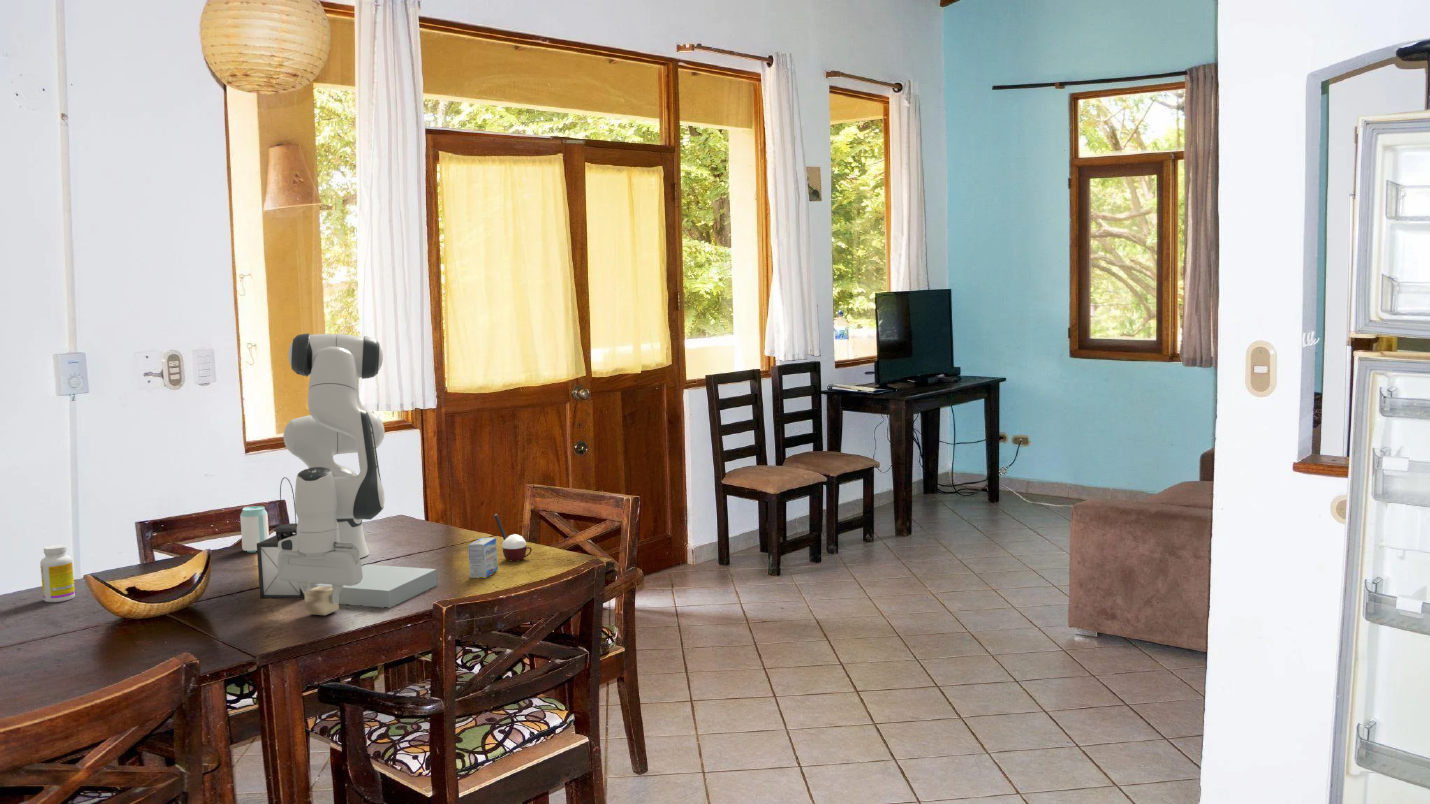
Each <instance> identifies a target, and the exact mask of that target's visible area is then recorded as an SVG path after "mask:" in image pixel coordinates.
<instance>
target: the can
mask: <svg viewBox="0 0 1430 804" xmlns="http://www.w3.org/2000/svg"><path fill="white" fill-rule="evenodd" d="M239 517H240V530H241V532H240V534H241V547H242V550H243V552H244V551H245V552H246V551H247V552H246V553H257V552H256V551H257V543H260V542H262V541H264V540H266V539H269V538H270V534H269V533H270V531H269V519H268V517H269V516H268V512H267V510H266V509H265V506H263V505H262V506H261V505H260V506H259V505H255V506H253V505H252V506H247V507H243V508H242V511H241V513H240V515H239Z"/></svg>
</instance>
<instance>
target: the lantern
mask: <svg viewBox="0 0 1430 804" xmlns="http://www.w3.org/2000/svg"><path fill="white" fill-rule="evenodd" d="M284 479H286V480H287V482H289V485H290V488H291V493H292V497H293V498H292V499H293V507H294V519H295V520H294V521H295V522H294V523H293V522H291V523H283V510H282V509H283V508H282V483H283V481H284ZM279 501H280V504H279V505H280V517H281V519H280V520H281V524H280V525H278V526H276V527H275V528H274V529H273V532H275V533H276V534H275V535H273V536H271V537H269V539H266V540H264V541H262V542H260V543H257V552H256V554H257V555H256V556H257V569H258V583H259V584H258V585H259V599H280V598H305V596H304V593H303V592H302V590H301V588H300V587H299V582H294V581H282V580H281V579H280V577H279V575H278V554H279V552H280V551H281V550H279V548H278V542H279V541H281V540H283V539H285V538H288V537H291V536H293V535H295V534H297V524H298V522H297V514H296V511H295V492H294V489H293V486H292V483H291V481H290V480H289V478H288V477H283V478H282V479H281V481H280V487H279ZM317 584H319V583H310V585H309V587H310V589H313V588H315V585H317Z"/></svg>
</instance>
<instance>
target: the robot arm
mask: <svg viewBox="0 0 1430 804" xmlns="http://www.w3.org/2000/svg"><path fill="white" fill-rule="evenodd" d="M380 345H381V344H380V342H379V341H378V340H377V338H373V337H370V336H367V335H366V336H358V335H353V334H343V333H337V334H336V333H316V334H315V333H314V334H311V333H309V332H307V333H302V334H301V333H300V334H297V335H296V336H295V337H293V338H292V341H291V343H290V345H289V349H288V354H287V358H288V362H289V364H290V367H291V370H292V371H293V372H294V373H295V374H297V375H300V376H304V377H305V378H306V377H309V381H308V391H307V394H308V395H307V409H308V412H309V414H310V415H304V416H300V417H296V418H293V419H290V421H288V423H287V424H286V425H285V427H284V430H283V443H284V445H285V448H286V450H288V451H289V453H290V454H292V455H293V456H295V457H296V458H297V459H299V460H300V461H302V462H303V463H304V464H305V466H307V468H305V469H303V470H301V471H299V472H298V473H297V475H296V481H295V487H294V488H295V489H294V490H295V491H294V500H295V509H294V512H295V511H296V518H297V534H296V533H294V534H295V535H293V536H291V537H288V538H285V539H283V540H281V541H279V542H278V548H279V550H281V551H280V552H279V554H278V575H279V577H280V579H281V580H282V581H294V582H299V587H300V588H301V590H302V592H303V593H304V596H305V591H308V590H310V587H309V585H310V583H320V584H332V589H334V591H333V594H332V595H330V596H329V603H332V604H336V603H338V602H339V594H340V592H341V590H342V588H343V585H346V586H353V585H356V584H358V583H360V582H361V580H362V579H363V573H362V566H363V565H362V562H361V558H365V557H367V556H369V555H370V551H369V549H368V546H367V542H366V538H365V533H364V528H363V520H373V519H374V518H375V517H376V516H378V515H379V514H380V513H381V512H382V511H383V510H384V506H385V501H386V497H385V496H386V495H385V489H384V486H383V484H382V479H381V473H380V467H379V466H380V465H379V460H378V453H377V449H378V448H379V446H380V445H381V444H382V443H383V440H384V438H385V433H386V432H385V425H384V423H383V420H382V419H381V418H380V417H379V416H378V415H377V414H376V413H374V412H371V411H370V410H369V409H367V408H366V407H365V405H363V404H362V402H361V399H360V391H359V390H360V389H359V384H360V383H359V382H360V381H359V380H360V379H362V380H363V379H371V378H374V377H376V376H377V375H378V374H379V371H380V370H381V367H382V366H383V361H384V354H383V349H382V347H381V346H380ZM355 453H357V456H358V457H357V458H358V465H359V473H358V474H357V473H356V472H355V470H352V469H351V468H348V467H346V466H344V465H341V464H338V463H336V462H335V459H334V456H335V455H343V454H355Z"/></svg>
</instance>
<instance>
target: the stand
mask: <svg viewBox="0 0 1430 804" xmlns="http://www.w3.org/2000/svg"><path fill="white" fill-rule="evenodd" d="M361 566H362V573H363V579H362V580H361V582H360V583H358V584H356V585H353V586H346V585H343V588H342V590H341V592H340V594H339V605H346V604H354V605H353V606H359V605H362V606H361V607H371V606H372V607H374V608H384V607H388V609H390V608H392V607H393V608H394V607H395V606H397V605H399V604H401V603H403V602H405V601H407V600H409V599H412V598H414V597H415V596H418V595H420V594H422V593H425V592H427V591H428V590H431V589H432V588H435V587H436V586H438V575H437V574H438V571H437V568H426V567H423V568H422V567H411V566H410V567H409V566H396V565H395V566H393V565H391V566H390V565H381V564H380V565H378V564H364V565H361ZM318 586H327V587H332V584H320V583H319V584H317V585H315V587H318ZM434 586H435V587H434ZM430 588H431V589H430ZM396 604H397V605H396ZM372 607H371V608H372Z"/></svg>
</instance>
